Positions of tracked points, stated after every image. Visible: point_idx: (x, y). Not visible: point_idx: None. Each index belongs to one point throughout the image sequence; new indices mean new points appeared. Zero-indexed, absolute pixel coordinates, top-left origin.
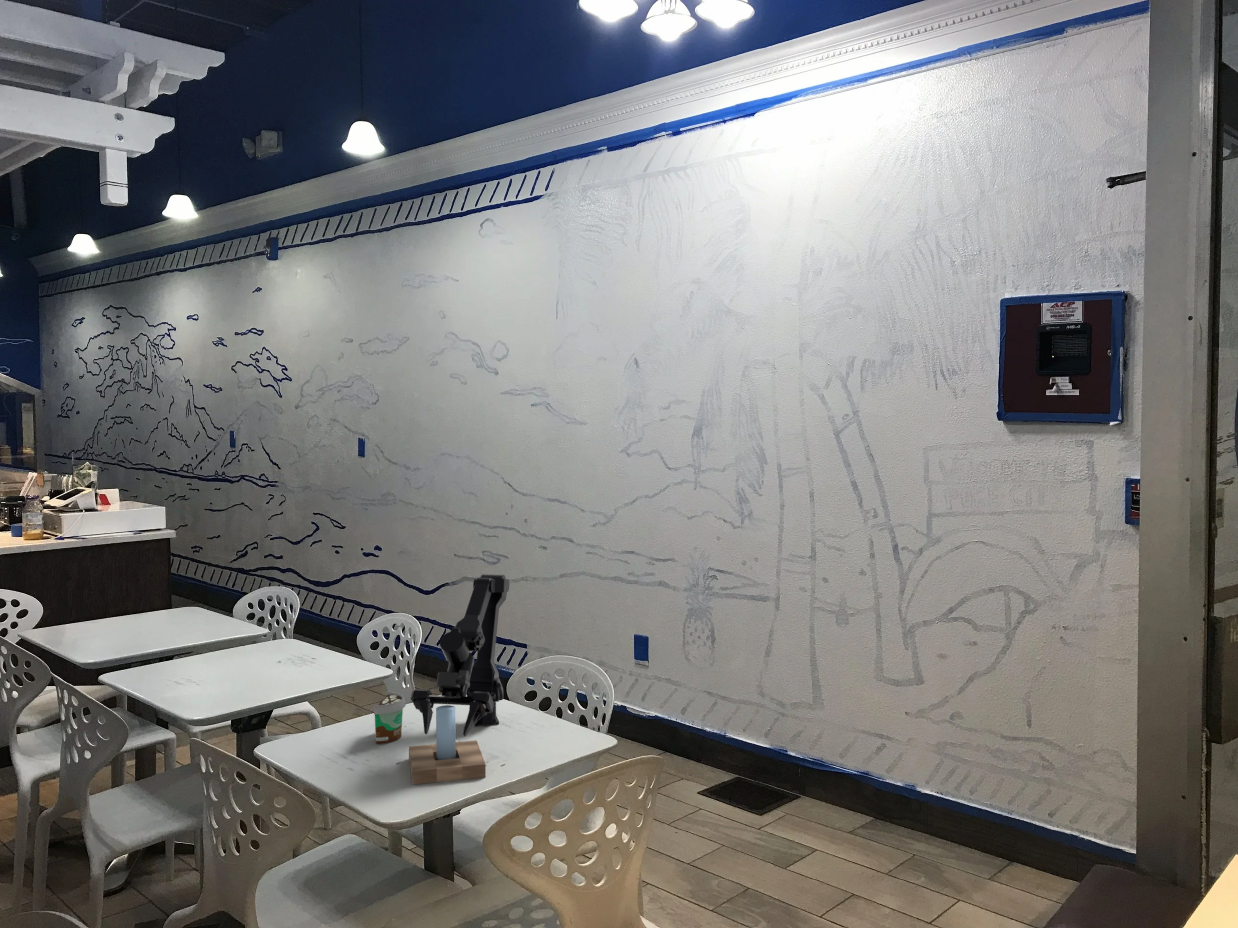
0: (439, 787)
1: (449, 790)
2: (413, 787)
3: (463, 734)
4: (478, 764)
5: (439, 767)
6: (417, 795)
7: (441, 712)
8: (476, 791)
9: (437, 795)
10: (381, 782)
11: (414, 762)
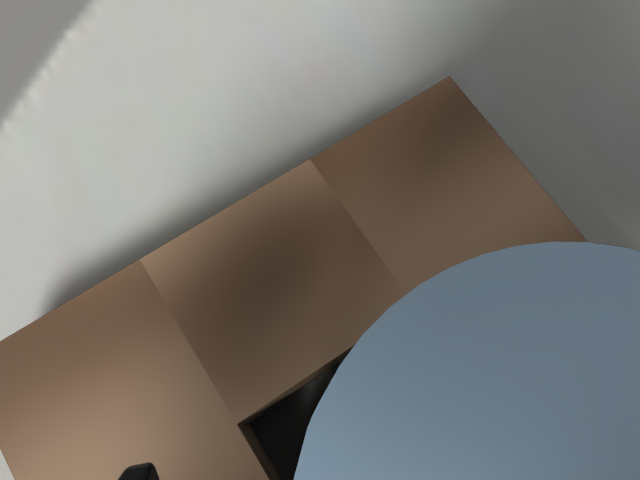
0: (253, 131)
1: (175, 111)
2: (402, 89)
3: (152, 465)
4: (20, 337)
5: (303, 188)
6: (320, 8)
7: (538, 249)
8: (6, 143)
9: (212, 36)
10: (622, 98)
11: (539, 217)
